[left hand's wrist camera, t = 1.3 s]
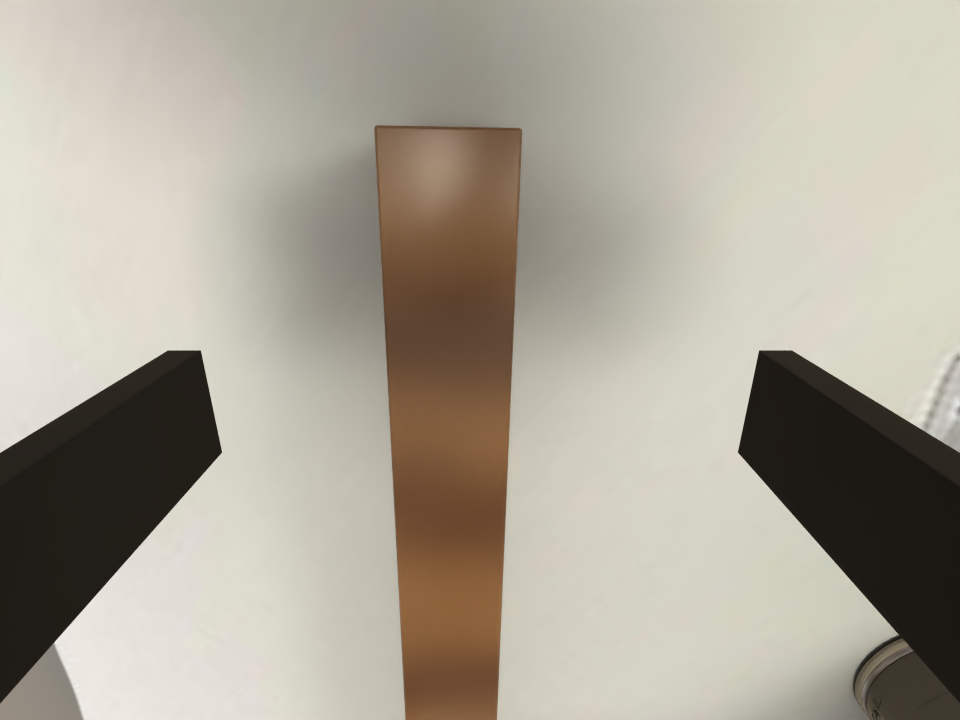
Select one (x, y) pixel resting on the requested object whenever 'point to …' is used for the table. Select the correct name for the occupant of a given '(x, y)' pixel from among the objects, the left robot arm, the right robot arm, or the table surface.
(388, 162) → the post
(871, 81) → the table surface
